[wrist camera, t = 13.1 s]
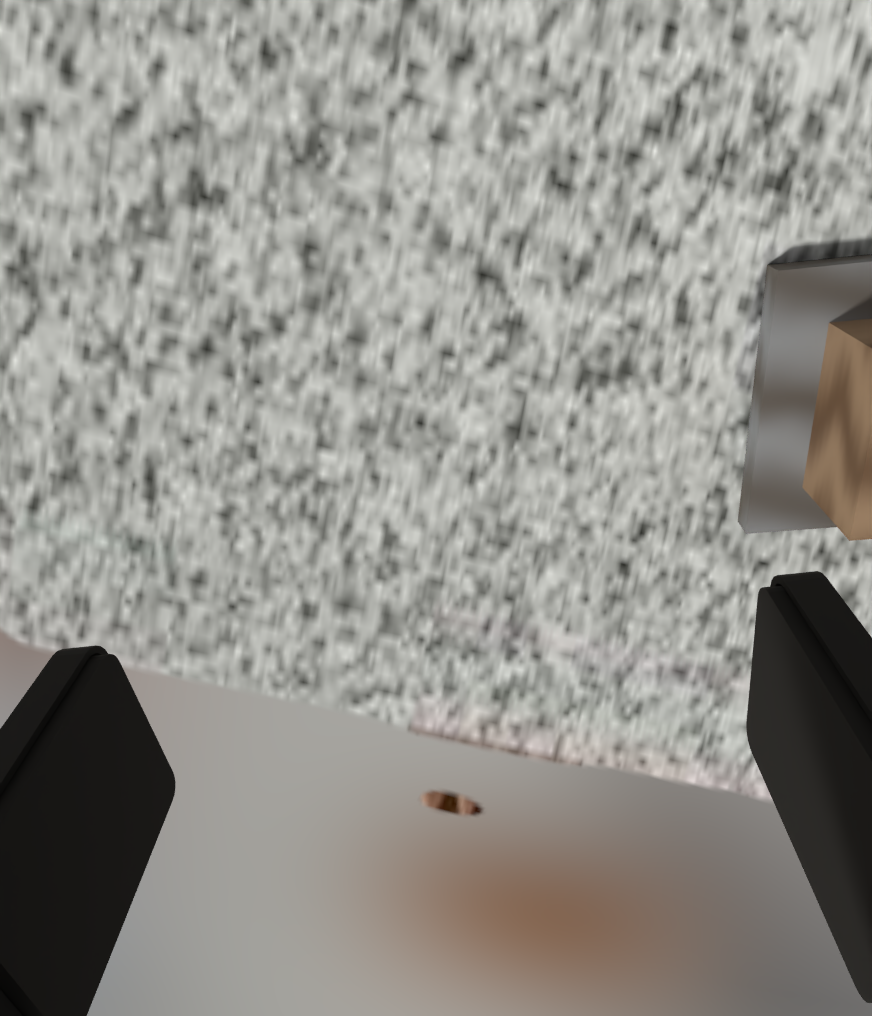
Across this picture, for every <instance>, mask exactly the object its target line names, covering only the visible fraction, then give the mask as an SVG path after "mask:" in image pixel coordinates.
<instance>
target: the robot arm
mask: <svg viewBox="0 0 872 1016" xmlns="http://www.w3.org/2000/svg"><path fill="white" fill-rule="evenodd" d="M747 737H748V742H749V745H750V749H751V751H752V754H753V756H754V758H755V761H756V763H757V765H758V767H759V770H760V772H761V774H762V776H763V779H764V781H765V783H766V785H767V788H768V790H769V792H770V795H771V797H772V799H773V801H774V804H775V806H776V808H777V810H778V813H779V815H780V817H781V819H782V822H783V824H784V826H785V828H786V831H787V833H788V835H789V837H790V840H791V842H792V844H793V847H794V849H795V851H796V853H797V855H798V858H799V860H800V862H801V864H802V867H803V869H804V871H805V874H806V876H807V878H808V880H809V883H810V885H811V887H812V889H813V892H814V894H815V896H816V898H817V901H818V903H819V905H820V908H821V910H822V912H823V914H824V916H825V919H826V921H827V923H828V926H829V928H830V930H831V932H832V935H833V937H834V939H835V941H836V944H837V946H838V948H839V951H840V953H841V955H842V957H843V960H844V961H845V964H846V966H847V969H848V971H849V973H850V975H851V978H852V979H853V982H854V984H855V986H856V988H857V990H858V992H859V994H860V995H861V997H862V998H863V999H864V1000H865V1001H866V1002H867V1003H872V638H871V636H870V635H869V634H868V632H867V631H866V630H865V628H864V627H863V626H862V624H861V623H860V622H859V620H858V619H857V618H856V616H855V615H854V614H853V612H852V611H851V610H850V608H849V607H848V606H847V604H846V603H845V602H844V600H843V599H842V598H841V596H840V595H839V594H838V592H837V591H836V590H835V588H834V587H833V586H832V584H831V583H830V582H829V580H828V579H827V578H826V577H825V576H824V575H823V574H822V573H821V572H818V571H815V572H806V573H796V574H786V575H777V576H775V577H774V578H773V579H772V581H771V586H770V587H764V588H761V589H760V590H759V593H758V601H757V612H756V623H755V635H754V646H753V657H752V668H751V679H750V691H749V702H748V713H747ZM174 793H175V777H174V774H173V771H172V769H171V767H170V765H169V763H168V761H167V759H166V757H165V755H164V753H163V751H162V748H161V746H160V745H159V742H158V740H157V738H156V736H155V734H154V732H153V730H152V728H151V726H150V724H149V722H148V719H147V717H146V715H145V714H144V711H143V709H142V707H141V705H140V703H139V701H138V699H137V697H136V695H135V693H134V691H133V689H132V687H131V684H130V682H129V680H128V678H127V676H126V674H125V672H124V670H123V668H122V666H121V664H120V662H119V660H118V658H117V657H116V656H115V655H113V654H108V653H107V651H106V650H105V649H104V648H102V647H101V646H88V647H79V648H69V649H62V650H59V651H57V652H56V653H55V654H54V655H53V656H52V657H51V659H50V660H49V661H48V663H47V664H46V666H45V667H44V669H43V670H42V671H41V673H40V674H39V676H38V677H37V678H36V680H35V681H34V683H33V684H32V686H31V687H30V688H29V690H28V691H27V692H26V694H25V695H24V697H23V698H22V699H21V701H20V702H19V704H18V705H17V706H16V708H15V709H14V711H13V712H12V713H11V715H10V716H9V718H8V719H7V721H6V722H5V723H4V725H3V726H2V728H1V729H0V1016H87V1013H88V1011H89V1008H90V1006H91V1003H92V1001H93V998H94V996H95V993H96V991H97V988H98V986H99V983H100V981H101V978H102V976H103V973H104V971H105V968H106V965H107V963H108V961H109V958H110V956H111V953H112V951H113V948H114V946H115V943H116V941H117V938H118V936H119V933H120V931H121V928H122V925H123V923H124V921H125V918H126V916H127V913H128V911H129V908H130V905H131V903H132V901H133V898H134V896H135V893H136V891H137V888H138V885H139V883H140V881H141V878H142V876H143V873H144V871H145V868H146V866H147V863H148V861H149V858H150V855H151V853H152V850H153V848H154V846H155V843H156V841H157V838H158V835H159V833H160V830H161V828H162V826H163V823H164V821H165V818H166V815H167V813H168V811H169V808H170V806H171V803H172V800H173V797H174Z"/></svg>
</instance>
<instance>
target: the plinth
mask: <svg viewBox="0 0 872 1016" xmlns="http://www.w3.org/2000/svg"><path fill="white" fill-rule="evenodd" d="M738 522H739V524H740V525H741V527H742V528H743V530H744V531H745V533H746V534H748V533H762V532H775V531H789V530H802V529H816V528H829V527H838V528H839V529H840V530H841V532H842V533H843V534H844V535H845V536H846V537H847V538H848V540H849V541H850V540H864V539H872V254H871V255H861V256H851V257H841V258H831V259H821V260H811V261H801V262H791V263H781V264H771V265H767V273H766V282H765V290H764V299H763V308H762V316H761V325H760V334H759V343H758V351H757V360H756V369H755V377H754V386H753V395H752V403H751V412H750V421H749V429H748V438H747V447H746V456H745V464H744V473H743V482H742V490H741V499H740V508H739V516H738Z"/></svg>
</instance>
